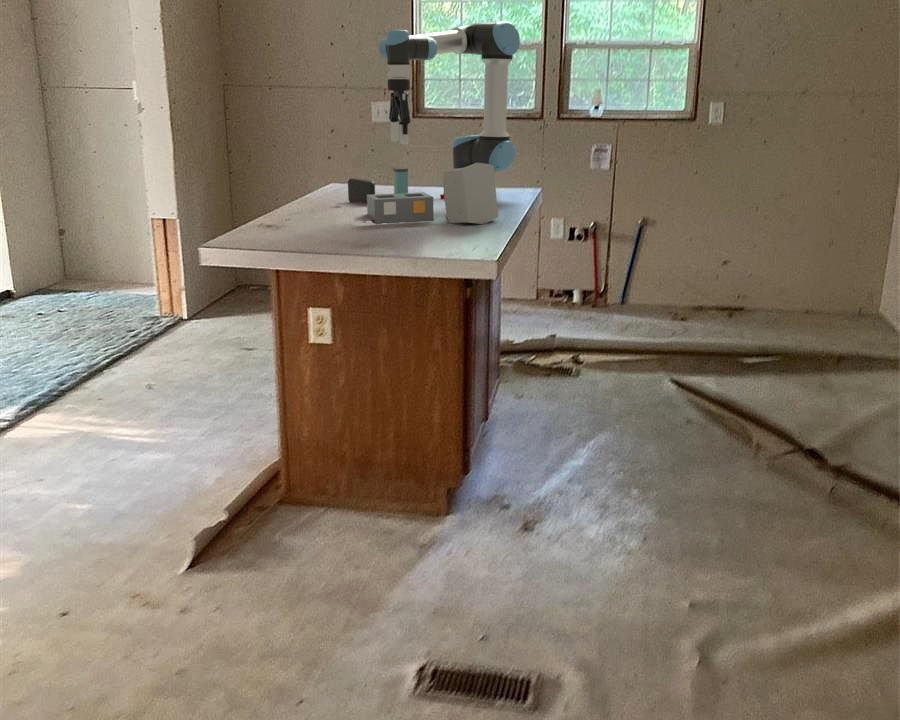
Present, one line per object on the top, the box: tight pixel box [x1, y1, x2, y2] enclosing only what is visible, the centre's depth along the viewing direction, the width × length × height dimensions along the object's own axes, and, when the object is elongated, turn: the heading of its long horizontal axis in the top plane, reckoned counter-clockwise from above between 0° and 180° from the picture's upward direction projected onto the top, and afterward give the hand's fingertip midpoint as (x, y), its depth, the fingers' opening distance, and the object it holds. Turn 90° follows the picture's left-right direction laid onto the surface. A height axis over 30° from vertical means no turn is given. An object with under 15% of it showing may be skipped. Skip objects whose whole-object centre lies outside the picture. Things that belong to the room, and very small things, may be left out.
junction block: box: [366, 191, 434, 225], centre depth 301 cm, size 20×12×8 cm, turn 107°
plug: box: [392, 167, 409, 194], centre depth 313 cm, size 4×4×14 cm
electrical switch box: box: [439, 163, 499, 225], centre depth 297 cm, size 14×15×20 cm
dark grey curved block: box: [347, 177, 376, 204], centre depth 331 cm, size 16×5×9 cm, turn 39°
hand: (399, 142), depth 308 cm, fingers open, 13 cm apart
